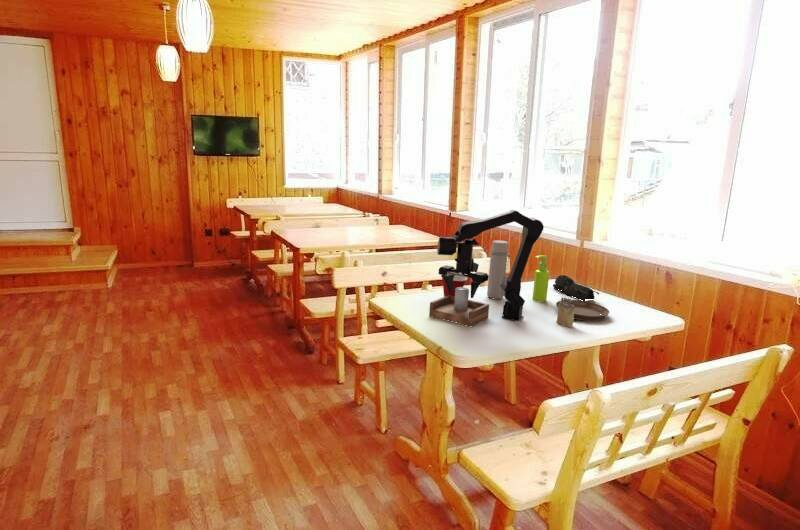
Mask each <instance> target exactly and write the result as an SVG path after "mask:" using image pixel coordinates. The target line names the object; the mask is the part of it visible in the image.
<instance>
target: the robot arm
mask: <svg viewBox="0 0 800 530" xmlns="http://www.w3.org/2000/svg"><path fill="white" fill-rule="evenodd" d="M511 223H517V224H518V225H520V226H522V230H521V233H522V234H521V235H522V236H521V241H520V245H519V248H518V251H517V253H516V256H515V258H514V262H513V266H512V267H511V270H510V272H509V274H508V276H505V277H503V280H502V284H501V285H500V287H501V293H502V294H503V298H505V300H506V301H504V304H503V307H502V316H501V318H502V319H506V320H510V321H514V322H518V321H520V320H522V319H523V318H524V316H523V308H524V304H525V302H526V300H525V299H524V298H523V297H522V296H521V294H520V293H521V291H522V290H521V289H522V283H521V282H522V277H523V274H524V272H525V269H526V266H527V264H528V260H529V258H530V255H531V252H532V249H533V246H534V245H535V243H536V241H537V240H539V238H540V236H541V235H542V233H543V231H544V224H543V222H542V221H541V220H539V219H537V218H534V217H528V216H526V215H524V214H521V213H520V212H519V211H518V210H516V209H512V210H509V211H506V212H503V213H500V214H498V215H493V216H491V217H490V216H489V217H487V218H484V219H480V220H479V219H478V220H469V221H462V222H461V223H460V224H459V225H458V227H457V230H456V231H455V233H453V235H452V236H451V237H447V236H439V237H438V240H437V245H436V247H437V248H436V254H437V255H438V256H454V255H455V254H456V257H455V258H454V261H455V263H456V264H455V266H452V265H444V266H440V267H439V268H438V273H437V274H438V275H440V277H441V278H442V277H443V278H444V280H445V282H446V285H447V287H448V290H449V292H450V293H452V290H453V278H454V276H455V275H459V276H464V277H466V278H470V279H471V281H470V299H474V297H475V295H476V292H477V291H478V288H479V287H480V285H481V284H484V283H485V282H487V281H488V279H489V273H487V272H482V271H478V269H479V264H478V263H476V262H474V261H475V260H474V258H473V251H474V246H479V242H478V241H477V239H476V238H475V237H477V236H479V235H481V234H482V233H483V232H486V231H489V230H491V229H495V228H498V227H501V226H504V225H508V224H511Z"/></svg>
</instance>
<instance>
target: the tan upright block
mask: <svg viewBox="0 0 800 530" xmlns="http://www.w3.org/2000/svg"><path fill="white" fill-rule="evenodd" d="M563 300H564V302H563ZM572 300H573V299H572V298H567V297H561V299H560V301H561V302H559V307H558V308H557V316H556V317H557V318H556V323H557V324H559V325H561V326H564V327H567V328H572V327H573V324H574V311H575V309H574V308H575V306H574V305H572V304H570V303H573V301H572ZM566 301H567V302H568V303H567V302H566Z"/></svg>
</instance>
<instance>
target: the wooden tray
mask: <svg viewBox="0 0 800 530" xmlns="http://www.w3.org/2000/svg"><path fill="white" fill-rule="evenodd" d="M454 301H455V296H451V295H448V296H445V297H444V296H443V297H440V298H437V299H435V300H433V301H430V302H429V314H428V316H429V317H431V316H433V317H432V318H435V317H437V318H436V319H439V318H440V319H439V320H442V319H445V320H444V321H446V320H449V321H448V322H450V321H453V322H452V323H454V322H457V323H456V324H458V323H460V324H459V325H461V324H463V325H462V326H465V325H467V326H466V327H469V326H470V328H471V326H472V327H474V326H475V324H476V325H478V324H479V322H480V323H481V321H482V322H483V321H485V320H488V319H489V313H490V312H489V311H490V304H489V303H484V302H481V301H475V300H471V299H468V309H467V311H457V310H455V309H454ZM473 325H474V326H473Z"/></svg>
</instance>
